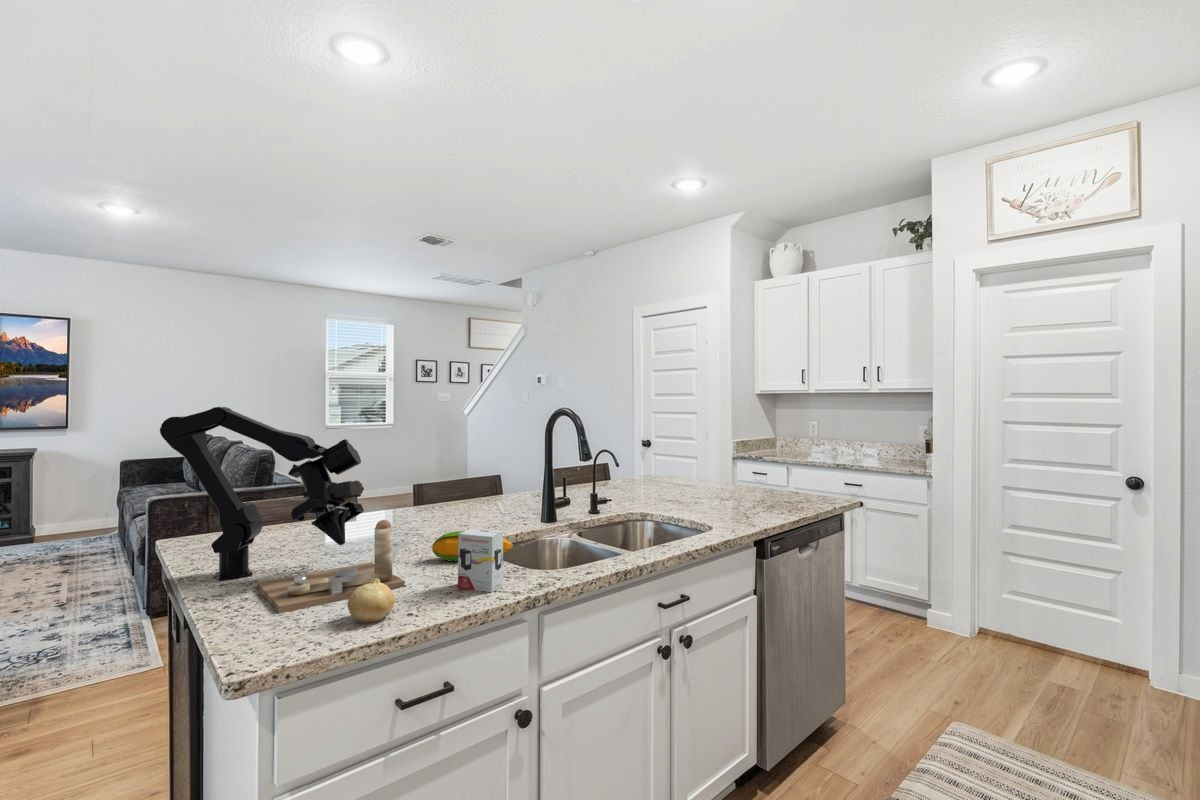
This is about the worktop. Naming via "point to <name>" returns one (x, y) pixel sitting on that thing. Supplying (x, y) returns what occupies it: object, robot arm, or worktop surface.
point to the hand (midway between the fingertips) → (342, 544)
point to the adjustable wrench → (398, 547)
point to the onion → (371, 601)
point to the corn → (454, 546)
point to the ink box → (480, 560)
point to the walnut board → (283, 602)
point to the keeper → (335, 579)
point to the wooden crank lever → (380, 571)
